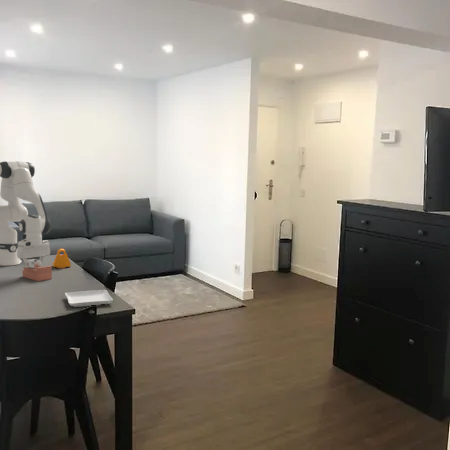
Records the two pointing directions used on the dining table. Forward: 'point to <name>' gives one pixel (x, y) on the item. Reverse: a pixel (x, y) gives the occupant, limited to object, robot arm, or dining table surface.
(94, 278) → the dining table surface
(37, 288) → the dining table surface
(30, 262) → the block with knob
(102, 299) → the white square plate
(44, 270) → the pink boxy piece
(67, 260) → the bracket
